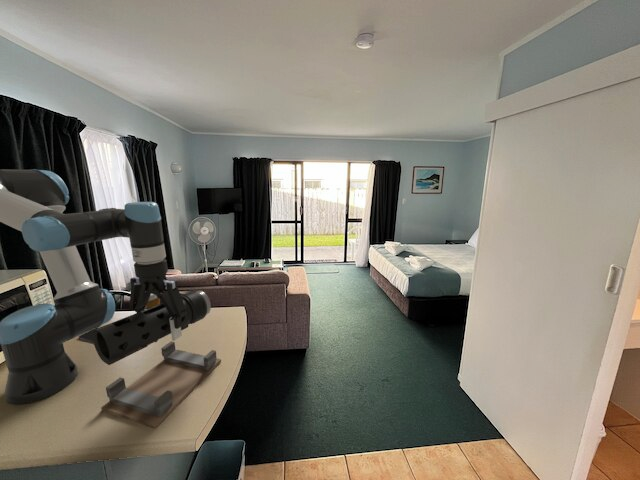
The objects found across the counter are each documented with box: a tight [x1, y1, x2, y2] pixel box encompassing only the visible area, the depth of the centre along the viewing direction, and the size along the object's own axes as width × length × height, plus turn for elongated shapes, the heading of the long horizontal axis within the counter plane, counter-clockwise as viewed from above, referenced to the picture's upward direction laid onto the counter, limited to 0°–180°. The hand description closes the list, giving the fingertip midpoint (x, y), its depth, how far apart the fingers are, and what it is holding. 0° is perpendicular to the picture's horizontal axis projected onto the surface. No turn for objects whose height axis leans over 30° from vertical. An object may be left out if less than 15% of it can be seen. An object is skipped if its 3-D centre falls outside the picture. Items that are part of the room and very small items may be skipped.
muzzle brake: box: [93, 290, 212, 366], centre depth 78 cm, size 10×28×10 cm, turn 148°
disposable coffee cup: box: [144, 294, 161, 310], centre depth 119 cm, size 10×10×12 cm
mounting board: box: [100, 340, 222, 429], centre depth 82 cm, size 18×26×6 cm
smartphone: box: [78, 328, 97, 344], centre depth 106 cm, size 7×1×15 cm
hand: (161, 334), depth 79 cm, fingers closed on muzzle brake, 10 cm apart
